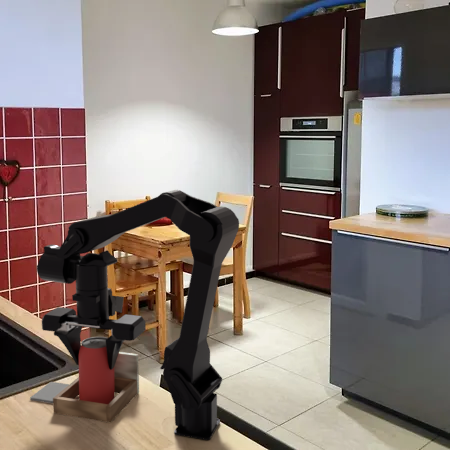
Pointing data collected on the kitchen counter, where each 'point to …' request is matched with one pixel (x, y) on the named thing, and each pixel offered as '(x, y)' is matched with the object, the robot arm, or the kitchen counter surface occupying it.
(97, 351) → the beer can
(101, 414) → the drawer
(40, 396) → the plate
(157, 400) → the kitchen counter surface
